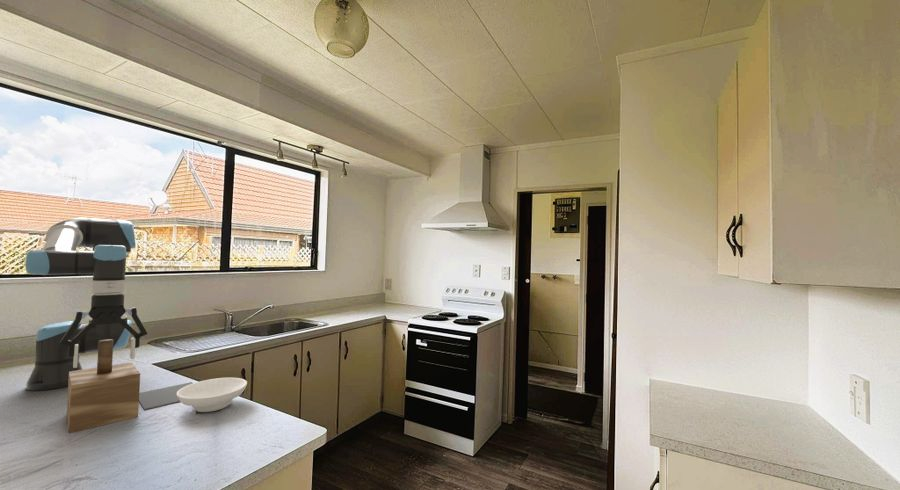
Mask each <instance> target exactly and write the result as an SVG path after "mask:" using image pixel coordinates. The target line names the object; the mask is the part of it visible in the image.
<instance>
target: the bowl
mask: <svg viewBox="0 0 900 490" xmlns="http://www.w3.org/2000/svg"><path fill="white" fill-rule="evenodd" d="M192 383H193V384H190V385H187V386H185V387H183V388H181V389H180V390H178V391H177V397H178V399H179V401H180V402H179V403H182V404H183V405H185V406H191V407H192V408H193V409H194V411H196V412H199V413H209V412H214V411H215V412H216V411H218V410H222V409H225V408H227V407H228V406H229V405H230V404H231V402H232V401H233V400H234V399H236V398H238V397H240V396H241V395H242V393H243V392H244V391H245V390H246V387H247V385H248V381H247V380H246V379H244V378H241V377H219V378H218V377H217V378H210V379H206V380H205V379H204V380H200V381H197V382H192Z"/></svg>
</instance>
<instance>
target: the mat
mask: <svg viewBox="0 0 900 490" xmlns="http://www.w3.org/2000/svg"><path fill="white" fill-rule="evenodd" d="M193 383H194V382H192V381H191V382H185V383H181V384H175V385H171V386H166V387H161V388H156V389H152V390H151V389H150V390H147V391H141V392H139V405H140V406H141V407H142V408H143V410H144V411H148V410H151V409H155V408H160V407H163V406H168V405H172V404H173V405H174V404H177V403H181V402H180V401H179V399H178V397H177V391H178V390H180V389H181V388H183V387H185V386H187V385H190V384H193Z"/></svg>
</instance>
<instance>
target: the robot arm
mask: <svg viewBox="0 0 900 490" xmlns="http://www.w3.org/2000/svg"><path fill="white" fill-rule="evenodd" d="M135 236H136V235H135V230H134V224H133V223H132V222H131V221H129V220H121V219H107V218H89V217H76V218H70V219H66V220H62V221H59V222H57V223H55V224H53V225H52V226H50V227H49V228H48V230H47V231H46V234H45V239H46V241H45V243H44V245H43V247H42V249H36V250H35V249H33V250H29V251H28V252H26V257H25V271H26V274H29V275H42V276H48V275H52V276H54V275H92V285H91V293H92V296H91V300H90V301H91V302H90V304H91V305H90V309H89V311H81V310H78V311H76V313H75V316H74V317H75V318H74V319H73V320H69V321H61V322H57V323H52V324H48V325H45V326H41V327H40V328H39V329H37V332H36V339H35V357H34V367H33V370H32V372H31V374H30V375H29V377H28V379H27V381H26V384H25V387H26V390H27V391H33V392H34V391H46V390H55V389H56V390H57V389H60V388H61V389H62V388H66V387H68V379H69V372H70V371H77V370H83V367H82V363H81V362H80V355H82V354H88V353H89V354H91V353H98V342H99V341H100V340H106V339H113V351H114V350H121V349H124V348H125V347H126V346H127V345H128V342H129V339H130V354H129V358H130V359H131V360H135V358H136V356H135V355H136V354H135V353H136V349H137V348H140V344H141V343H140V339H141V338H142V337H144V336H146V335H148V332H147V330H146V329H145V326H144V325H143V323H142V321H141V319H140V318H139V316H138V311H137V308H136V307H135V306H134V307H131V308H129V307H128V308H125V306H124V305H125V285H126V284H125V283H126V268H127V267H126V265H127V257H128V255H129V254H131V252H132V249H135V248H136V237H135ZM78 247H79V248H80V247H81V248H92V250H90V251H89V250H88V251H87V250H77V248H78ZM126 313H127V314H128V315H129V316H131V318H132V320H133V321H132V320H130V319H128V315H126ZM87 316H89V318H88V323H82V320H83V319H86V317H87ZM133 322H134V324H135V325H136V327H137V328H138V330H139V332H137V331H136V330H135V329H134V328H133V327H132V323H133ZM130 335H132V336H133V337H130Z"/></svg>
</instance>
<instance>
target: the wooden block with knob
mask: <svg viewBox="0 0 900 490" xmlns="http://www.w3.org/2000/svg"><path fill="white" fill-rule="evenodd" d="M113 352H114V350H113V339H106V340H100V341H99V342H98V352H97V362H96V363H97V364H96V367H91V368H84V369H83V368H82V369H83V370H77V371H70V372H69V379H68V386H67V400H66V421H67V429H68V434H72V433H76V432H79V431H80V432H81V431H84V430H88V429H92V428H96V427H99V426H104V425H108V424H112V423H113V424H114V423H117V422H122V421H125V420H129V419H134V418H138V417H139V410H140V409H139V408H140V407H139V406H140V402H139V393H140V385H141V384H140V383H141V372H139V370H138V369H137V368H136V366H135V365H134V364H133V362H132V361H129V362H123V363H117V364H113V355H114V353H113Z"/></svg>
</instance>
